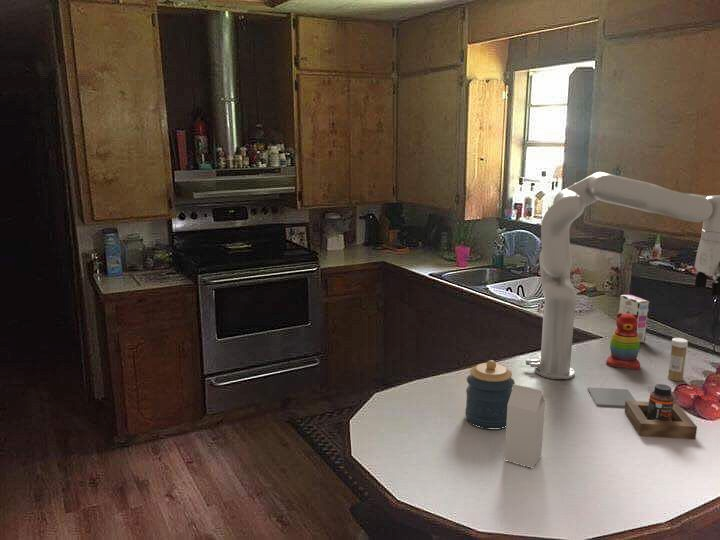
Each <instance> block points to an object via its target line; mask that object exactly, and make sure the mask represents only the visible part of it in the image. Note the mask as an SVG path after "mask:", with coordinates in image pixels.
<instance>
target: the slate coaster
mask: <svg viewBox="0 0 720 540" xmlns="http://www.w3.org/2000/svg"><path fill="white" fill-rule="evenodd" d="M587 391H588V393H589V392H590V393H589V394H591V395H590V396H592V397H591V399H592V400H593V402H594V404H595V406H597V407H608V408H609V407H610V408H611V407H613V408H625V402H626V401H637V400H636V399H635V397H634V396H633V395H632V393H631V392H630V390H629V389H626V388H625V389H624V388H609V387H608V388H607V387H605V388H604V387H590V386H589V387H587Z"/></svg>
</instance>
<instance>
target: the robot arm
mask: <svg viewBox="0 0 720 540" xmlns="http://www.w3.org/2000/svg"><path fill="white" fill-rule="evenodd" d="M597 201H600V202H604V203H608V204H613V205H617V206H622V207H626V208H631V209H633V210H638V211H643V212H645V213H646V212H647V213H652V214H658V215H663V216H666V217H671V218H675V219H679V220H683V221H688V222H692V223H701V222H702V227H701V234H700V235H701V237H700V240H699V244H698V246H697V250H696V256H695V261H694V269H695V281H694V287H695V288H706V287H707V282H708V281H707V280H708V276H712V279H713V282H712V285H711V292H710V295H711V296H712V297H713V296H715V297H716V296H719V297H720V194H713V195H704V194H695V193H685V192H680V191H676V190H673V189H669V188H665V187H662V186H660V185H658V184H654V183H651V182H647V181H643V180H637V179H633V178H629V177H625V176H619V175H614V174H612V173H607V172H602V171H597V172H594V173H593V174H591V175H589V176H587V177H585V178H583V179H582V180H580V181H578V182H575V183H573V184H572V185H570V186H568V187H566V188H564V189H562V190H560V191H559V192H558V193H557V194H556V195H554V198H553V202H552V204H551V206H549V207H548V209H547V210H546V212H545V214H544V215H543V218H542V221H541V225H540V226H541V227H540V231H541V232H540V234H541V238H540V239H541V250H540V252H539V259H538V260H539V270H540V271H539V272H540V280H541V289H542V294H543V296H544V308H543V316H542V317H543V318H542V329H541V331H542V333H541V346H540V347H541V348H540V355H539V356H538V358H535V359H531V358H525V365H526V366H529V365H530V367H531V368H534V372H535V373H536V374H537V375H538V374H539V376H540V375H541V376H540V377H542V376H543V378H545V377H546V379H549V378H551V379H550V380H555V379H565V380H570V379H572V378H573V377H574V376H575V369H573V368H572V367H571V360H572V349H573V338H574V337H573V334H574V322H575V314H576V308H577V304H578V303H577V301H578V298H577V296H578V295H577V291H576V289H575V287H574V285H573V283H572V280H571V269H572V266H573V258H572V254H571V252H572V251H571V241H570V228H571V225H572V224H573V222H574V221H575V220H576V219H578V218H580V216H582V215H583V213H584V211H585V208H586V207H589V206H591V205H593V204H594V203H595V202H597Z"/></svg>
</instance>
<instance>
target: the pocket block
mask: <svg viewBox="0 0 720 540" xmlns="http://www.w3.org/2000/svg"><path fill="white" fill-rule="evenodd" d="M648 406H649V401H637V400H636V401H626V402H625V407H624V413H625V415H626V417H627V418H628V420H629V421H630V423H631V424H632V427H633V428H634V430H635V431H636V433H637V434H638V436H640V437H642V436H643V437H653V438H654V437H656V438H657V437H658V438H670V439H671V438H672V439H673V438H674V439H685V440H687V439H688V440H689V439H690V440H696V438H697V437H696V436H697V430H698V427H697V425H696V424H695V422H694V421H693V420H692V419H691V418H690V417H689V416H688V414H687V413H686V412H685V411H684V409H683V408H682V407H681V406H680V404H679V403H675V402H674V403H673V410H672V417H671V421H660V420H647V414H648Z"/></svg>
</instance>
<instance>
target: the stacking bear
mask: <svg viewBox="0 0 720 540" xmlns="http://www.w3.org/2000/svg"><path fill="white" fill-rule="evenodd" d="M637 318H638V316H637V315H636V314H633V315H631V314H621V313H619V312H618V313H617V315H616V322H615V323H616V329H615V330H614V331H613V333H612V335H611V338H610V341H609V349H610V354H611V355H609V356H608V357H607V358H606V360H605V361H606V362H605V363H606V365H607V366H608V367H613V368H618V367H619V368H626V369H629V370H635V371H637V370H640V369H641V363H640V360H639V359H638V356H639V352H640V345H641V343H640V342H639V336H638V333H637V331H636V330H635V329H636V328H637V325H638V321H637ZM617 327H618V329H617Z"/></svg>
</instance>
